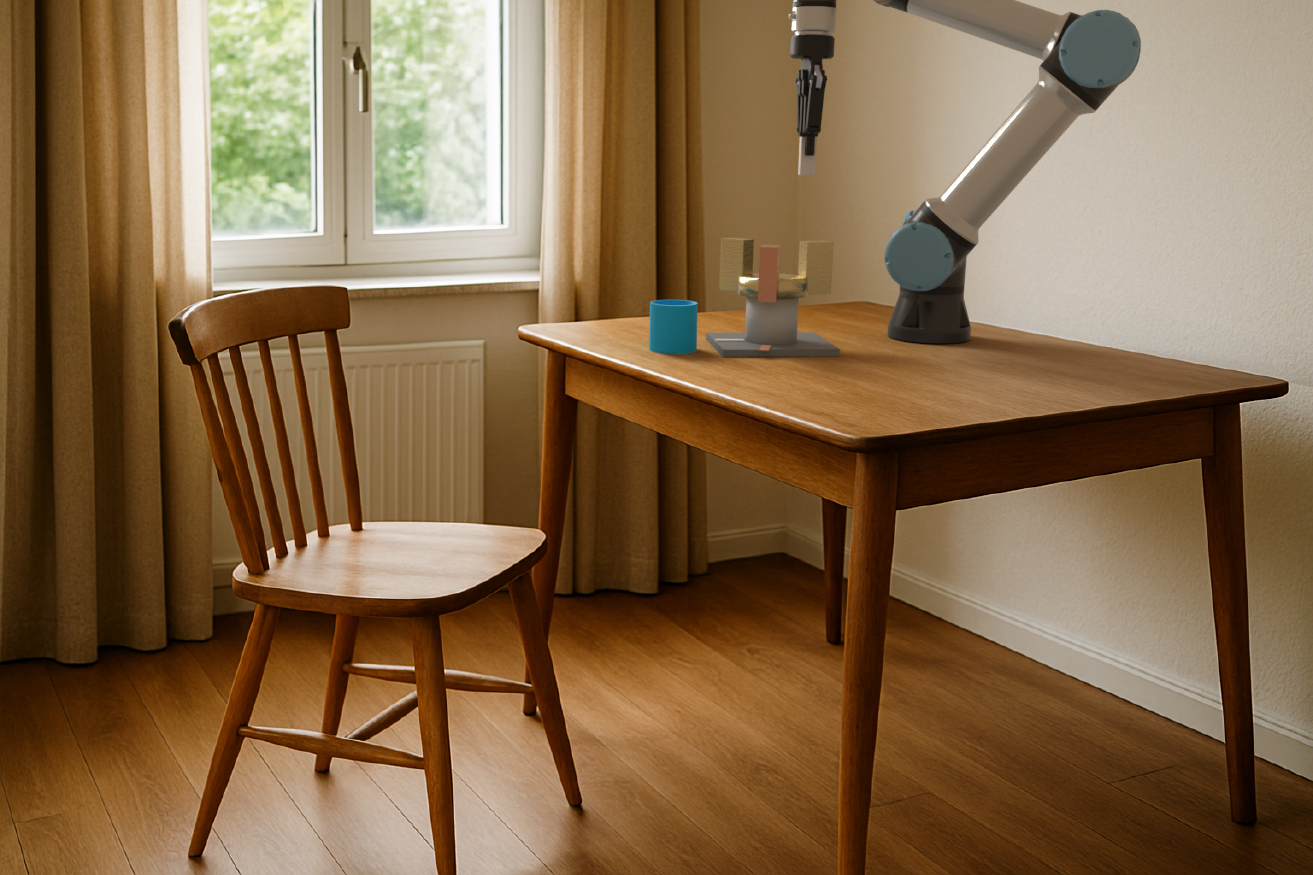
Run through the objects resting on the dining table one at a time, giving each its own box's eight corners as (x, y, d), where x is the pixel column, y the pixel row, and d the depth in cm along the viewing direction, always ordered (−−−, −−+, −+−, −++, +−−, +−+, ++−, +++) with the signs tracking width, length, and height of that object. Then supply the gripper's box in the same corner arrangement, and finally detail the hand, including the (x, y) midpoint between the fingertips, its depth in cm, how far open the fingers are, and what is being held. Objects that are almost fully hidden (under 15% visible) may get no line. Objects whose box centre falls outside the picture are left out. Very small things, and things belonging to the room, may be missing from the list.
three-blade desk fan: (721, 287, 225) (722, 237, 222) (831, 292, 221) (834, 240, 219) (707, 299, 208) (709, 245, 206) (826, 304, 205) (829, 249, 203)
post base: (814, 338, 229) (816, 289, 227) (842, 358, 210) (845, 304, 208) (706, 339, 226) (707, 289, 224) (724, 358, 207) (726, 304, 205)
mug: (704, 352, 213) (705, 305, 211) (660, 355, 210) (661, 306, 208) (676, 341, 224) (677, 296, 222) (634, 343, 221) (634, 297, 219)
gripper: (783, 36, 221) (777, 173, 226) (800, 31, 208) (794, 176, 214) (824, 38, 221) (818, 173, 227) (844, 32, 209) (836, 176, 215)
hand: (806, 174), depth 220 cm, fingers closed
